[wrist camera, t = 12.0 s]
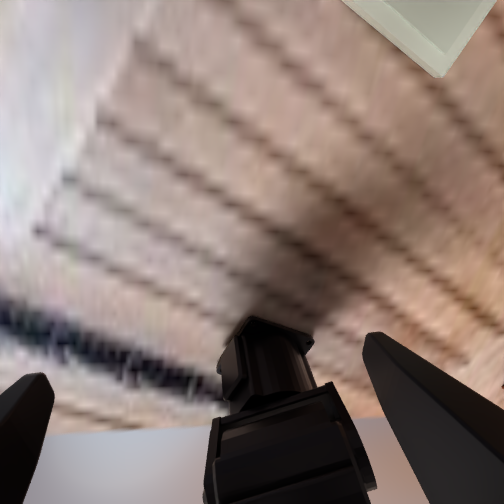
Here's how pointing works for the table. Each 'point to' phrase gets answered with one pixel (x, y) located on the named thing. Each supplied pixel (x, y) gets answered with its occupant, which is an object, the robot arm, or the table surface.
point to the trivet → (425, 27)
